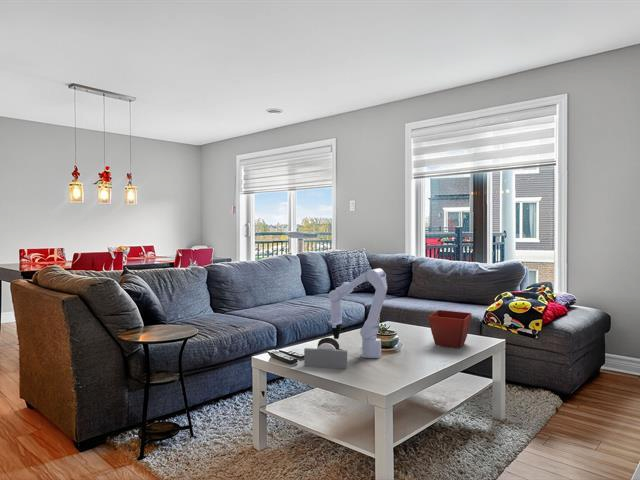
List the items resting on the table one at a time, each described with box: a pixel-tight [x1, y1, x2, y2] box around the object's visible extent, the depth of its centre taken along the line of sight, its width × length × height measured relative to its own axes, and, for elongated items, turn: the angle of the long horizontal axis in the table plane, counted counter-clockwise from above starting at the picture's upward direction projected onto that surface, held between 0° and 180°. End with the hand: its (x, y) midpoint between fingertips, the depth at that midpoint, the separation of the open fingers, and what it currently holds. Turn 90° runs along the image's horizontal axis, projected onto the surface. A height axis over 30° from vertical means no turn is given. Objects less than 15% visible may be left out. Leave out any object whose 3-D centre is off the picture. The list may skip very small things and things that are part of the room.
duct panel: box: [303, 343, 348, 370], centre depth 216 cm, size 20×3×10 cm, turn 78°
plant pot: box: [428, 309, 473, 349], centre depth 254 cm, size 19×19×17 cm
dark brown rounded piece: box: [316, 337, 343, 350], centre depth 226 cm, size 10×15×15 cm
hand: (336, 338), depth 243 cm, fingers closed
